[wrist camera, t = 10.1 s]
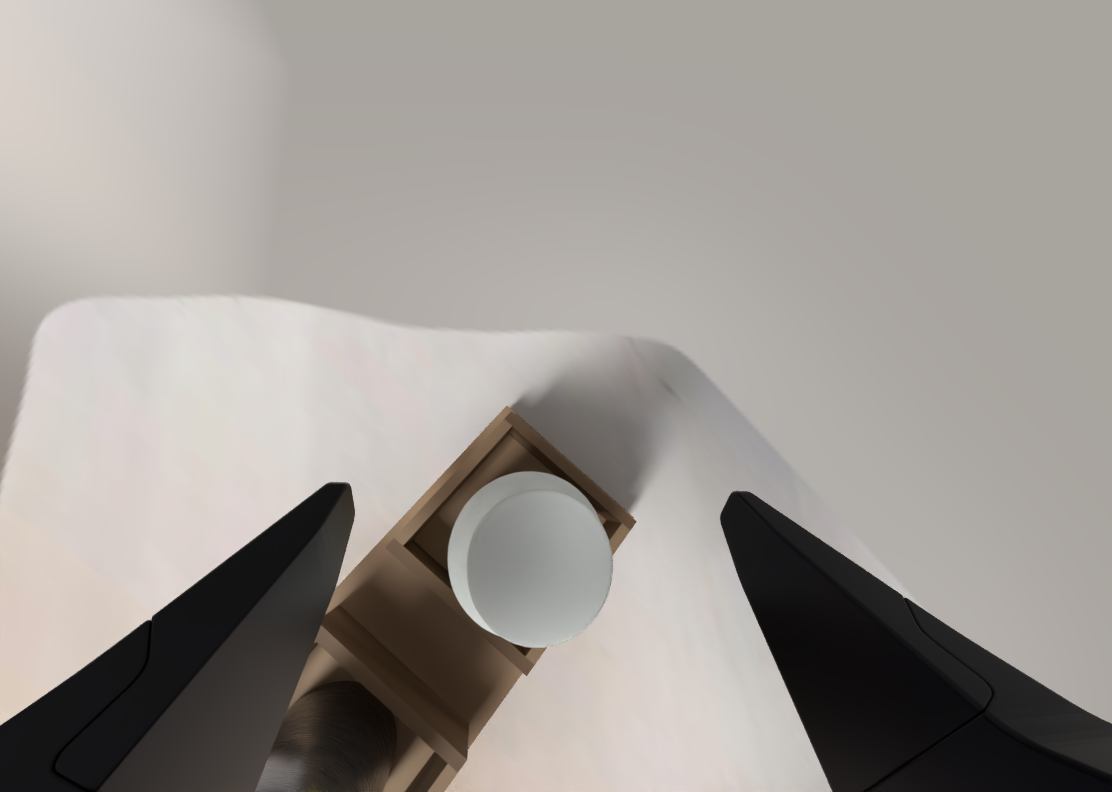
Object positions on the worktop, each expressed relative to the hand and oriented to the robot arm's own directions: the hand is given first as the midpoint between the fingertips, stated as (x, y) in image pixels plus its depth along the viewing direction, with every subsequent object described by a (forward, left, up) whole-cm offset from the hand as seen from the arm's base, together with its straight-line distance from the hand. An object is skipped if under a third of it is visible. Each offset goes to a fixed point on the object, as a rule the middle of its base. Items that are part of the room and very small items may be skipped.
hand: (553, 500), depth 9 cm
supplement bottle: (-2, 0, -12) cm, 12 cm away
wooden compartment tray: (-6, +3, -13) cm, 15 cm away
